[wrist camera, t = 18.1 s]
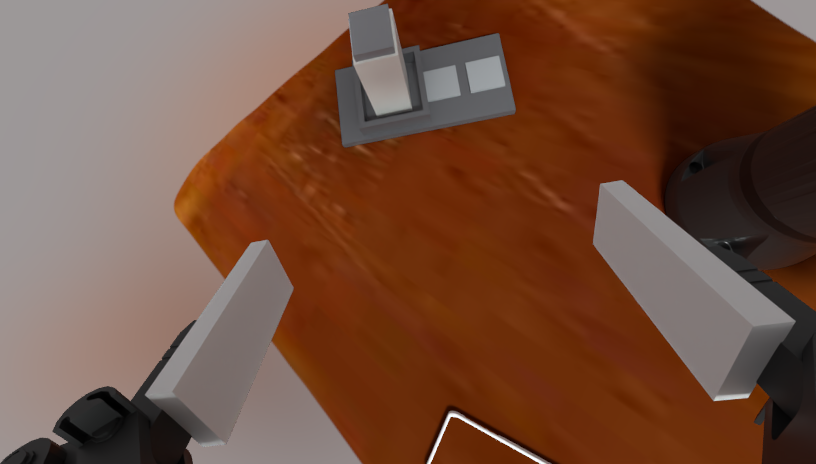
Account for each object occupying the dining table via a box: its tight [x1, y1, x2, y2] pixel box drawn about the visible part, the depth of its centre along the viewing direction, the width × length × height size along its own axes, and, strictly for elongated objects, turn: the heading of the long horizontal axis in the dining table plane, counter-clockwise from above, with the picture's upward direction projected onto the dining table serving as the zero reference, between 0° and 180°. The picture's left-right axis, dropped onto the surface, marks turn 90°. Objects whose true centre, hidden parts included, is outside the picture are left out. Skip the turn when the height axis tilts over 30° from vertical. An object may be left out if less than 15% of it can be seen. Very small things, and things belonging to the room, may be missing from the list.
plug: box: [349, 4, 413, 117], centre depth 42 cm, size 5×6×12 cm
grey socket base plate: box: [335, 33, 516, 147], centre depth 46 cm, size 24×12×3 cm, turn 98°
